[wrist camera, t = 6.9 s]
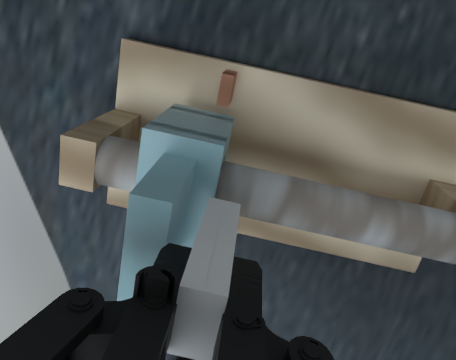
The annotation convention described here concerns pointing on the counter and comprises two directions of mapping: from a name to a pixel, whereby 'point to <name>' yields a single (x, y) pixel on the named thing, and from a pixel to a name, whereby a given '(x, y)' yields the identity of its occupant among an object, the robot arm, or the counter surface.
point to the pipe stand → (289, 155)
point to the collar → (172, 185)
